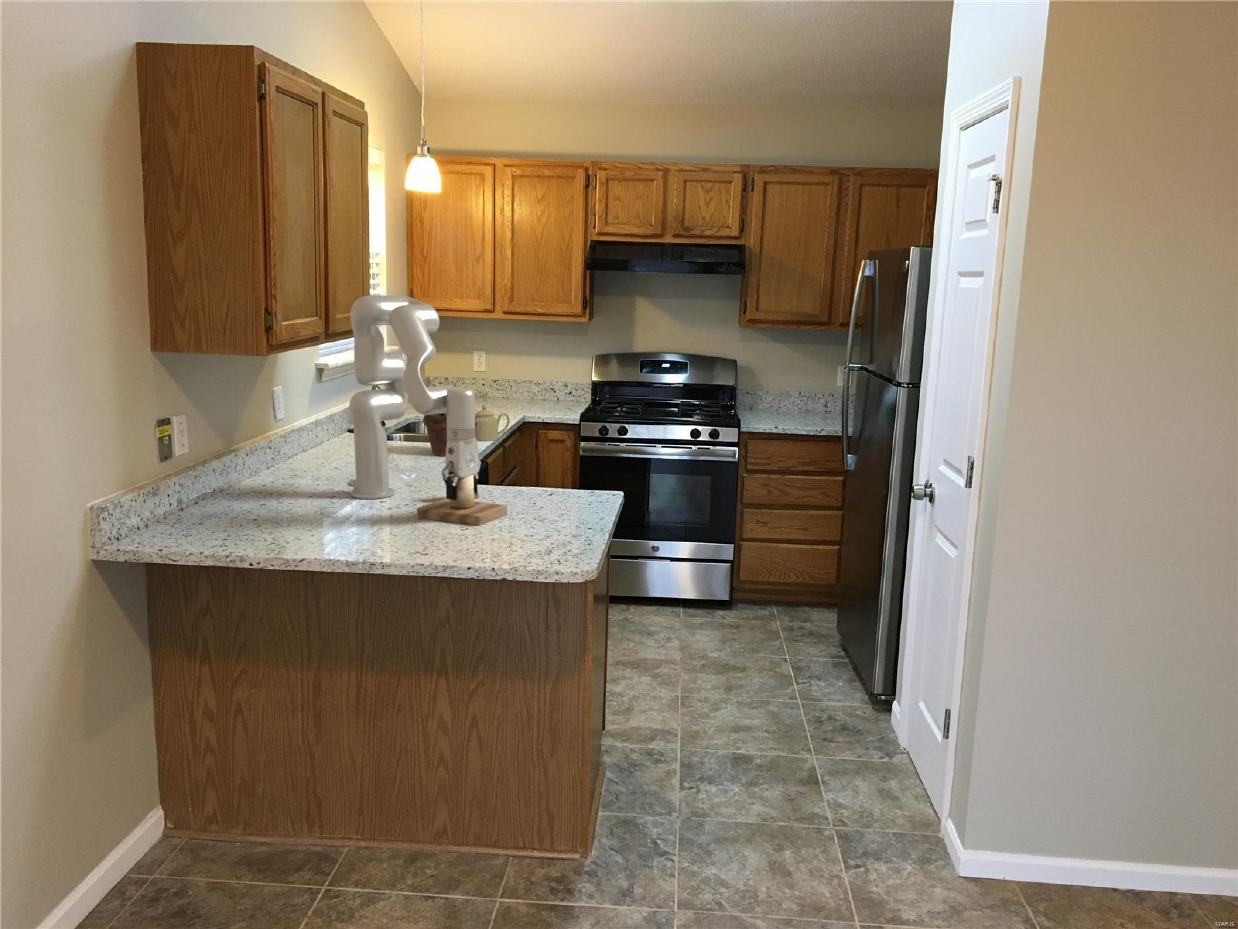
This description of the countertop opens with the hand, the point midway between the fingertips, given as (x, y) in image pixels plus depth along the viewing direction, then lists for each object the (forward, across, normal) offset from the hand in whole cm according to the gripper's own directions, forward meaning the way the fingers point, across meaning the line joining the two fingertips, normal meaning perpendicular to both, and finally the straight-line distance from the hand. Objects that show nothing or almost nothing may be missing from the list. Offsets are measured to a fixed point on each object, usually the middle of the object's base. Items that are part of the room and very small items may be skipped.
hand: (462, 496), depth 256 cm
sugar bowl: (+6, +120, +68) cm, 138 cm away
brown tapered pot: (+6, +82, +61) cm, 102 cm away
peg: (+6, 0, 0) cm, 6 cm away
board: (+6, 0, 0) cm, 6 cm away
